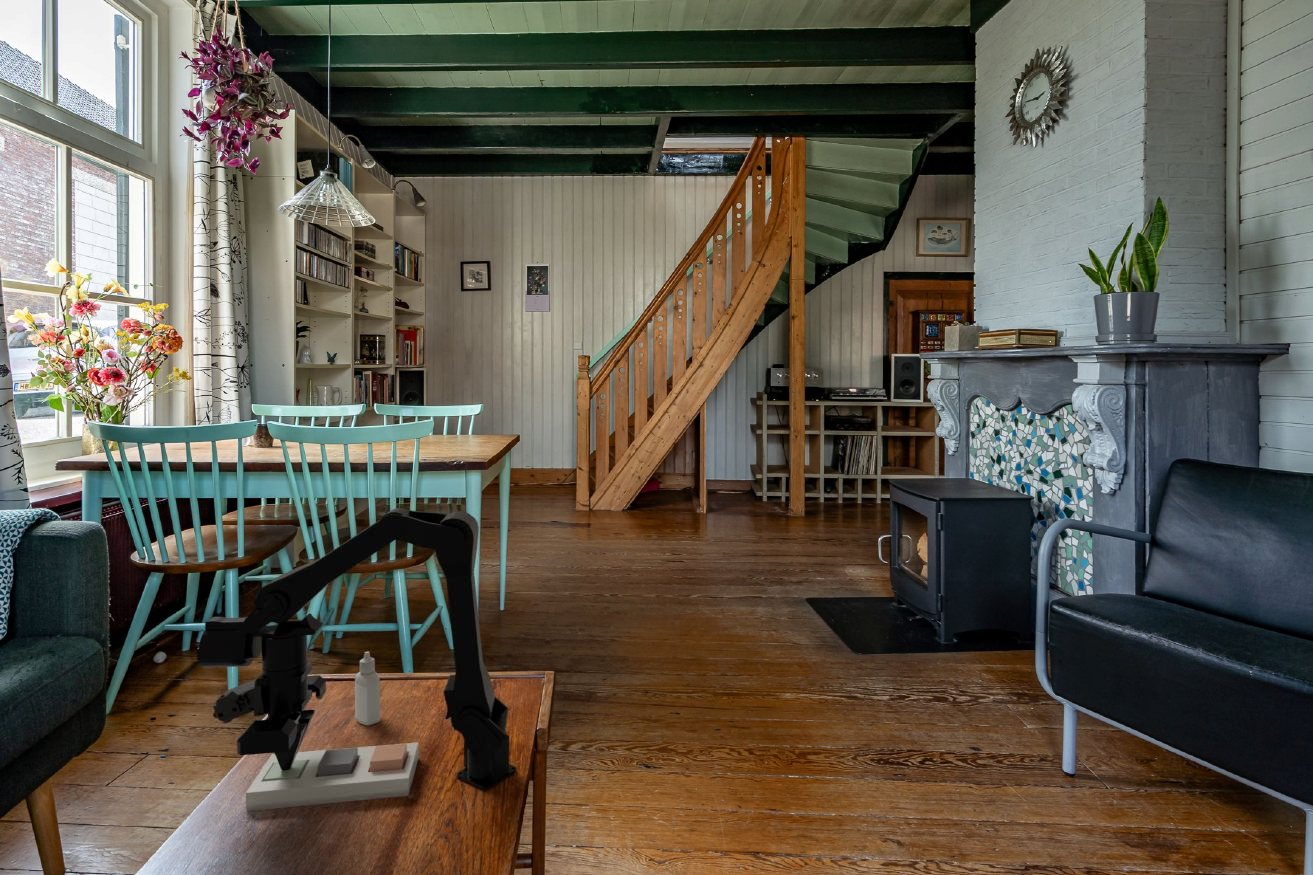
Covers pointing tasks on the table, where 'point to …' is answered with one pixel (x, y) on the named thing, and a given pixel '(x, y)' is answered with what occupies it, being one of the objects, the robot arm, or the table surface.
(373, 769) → the terracotta key
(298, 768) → the sage key
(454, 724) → the robot arm
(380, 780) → the keypad frame
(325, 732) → the table surface
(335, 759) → the charcoal key
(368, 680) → the eye dropper bottle
